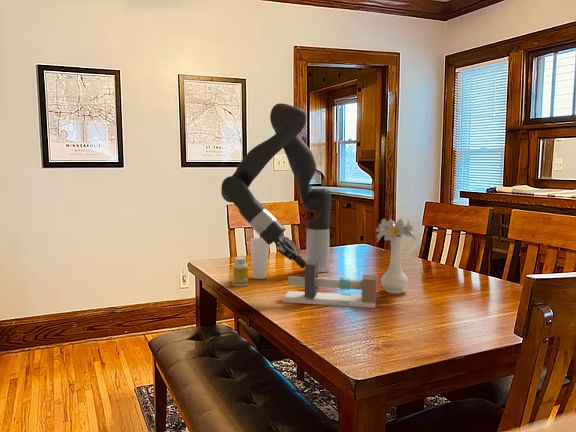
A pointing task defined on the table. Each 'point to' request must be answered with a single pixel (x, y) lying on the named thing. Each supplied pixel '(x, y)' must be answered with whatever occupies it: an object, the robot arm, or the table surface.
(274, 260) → the table surface
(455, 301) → the table surface
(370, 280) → the pipe stand
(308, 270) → the collar
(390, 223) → the flower vase
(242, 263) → the supplement bottle
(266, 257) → the drinking glass
